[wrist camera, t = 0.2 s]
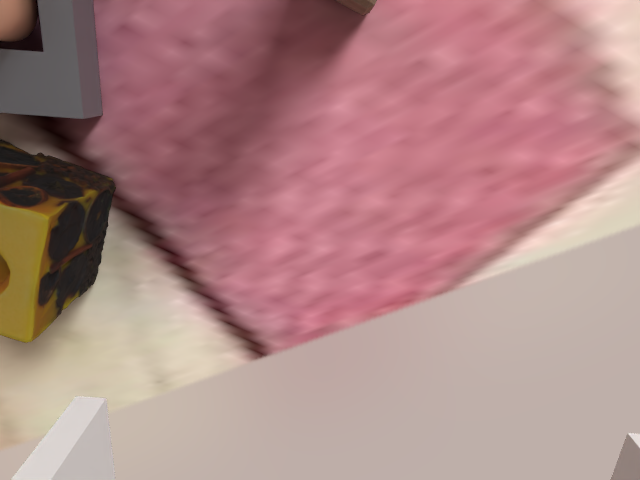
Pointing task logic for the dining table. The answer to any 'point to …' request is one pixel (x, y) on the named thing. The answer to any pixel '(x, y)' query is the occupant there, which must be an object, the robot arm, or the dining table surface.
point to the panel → (55, 66)
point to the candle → (47, 237)
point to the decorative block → (359, 5)
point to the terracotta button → (17, 19)
